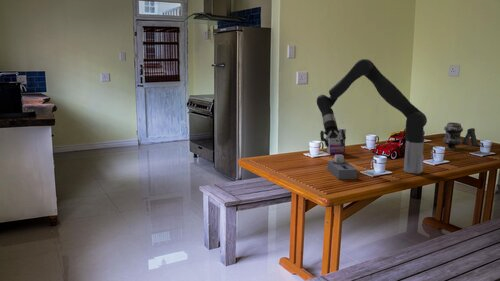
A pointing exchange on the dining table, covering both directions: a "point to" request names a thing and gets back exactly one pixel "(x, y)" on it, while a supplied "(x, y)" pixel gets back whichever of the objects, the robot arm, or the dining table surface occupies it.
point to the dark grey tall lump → (452, 135)
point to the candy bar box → (336, 145)
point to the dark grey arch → (473, 138)
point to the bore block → (342, 170)
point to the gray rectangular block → (339, 159)
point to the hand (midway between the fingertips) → (335, 146)
